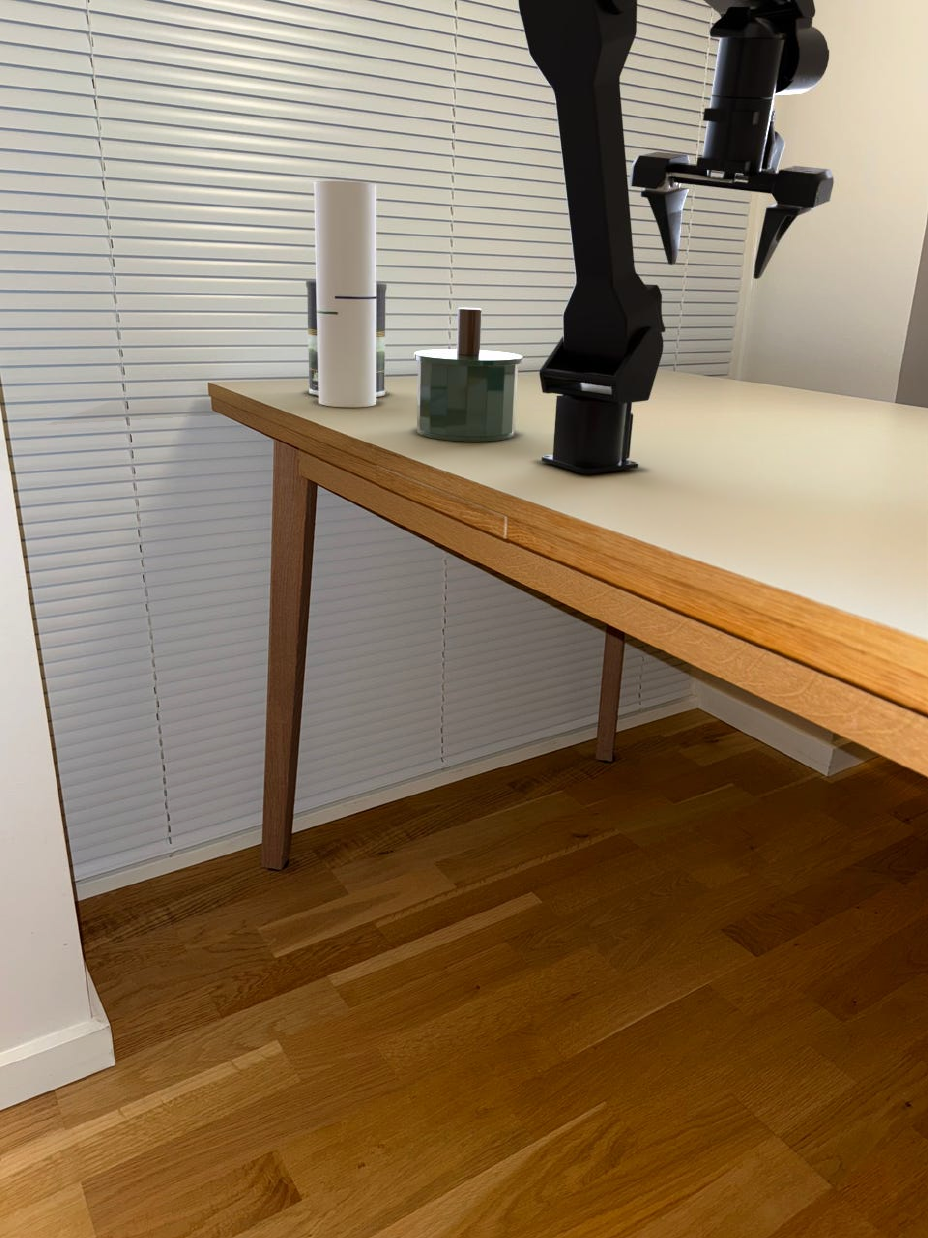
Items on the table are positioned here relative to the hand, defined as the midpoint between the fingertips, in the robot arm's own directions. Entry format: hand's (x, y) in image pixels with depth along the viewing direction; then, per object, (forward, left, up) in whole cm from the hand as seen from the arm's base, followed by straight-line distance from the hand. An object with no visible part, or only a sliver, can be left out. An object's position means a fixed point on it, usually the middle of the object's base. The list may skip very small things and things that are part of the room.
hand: (713, 270), depth 95 cm
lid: (-22, +12, -9) cm, 27 cm away
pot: (-22, +12, -17) cm, 30 cm away
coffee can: (-20, +44, -17) cm, 51 cm away
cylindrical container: (-24, +36, -17) cm, 46 cm away
